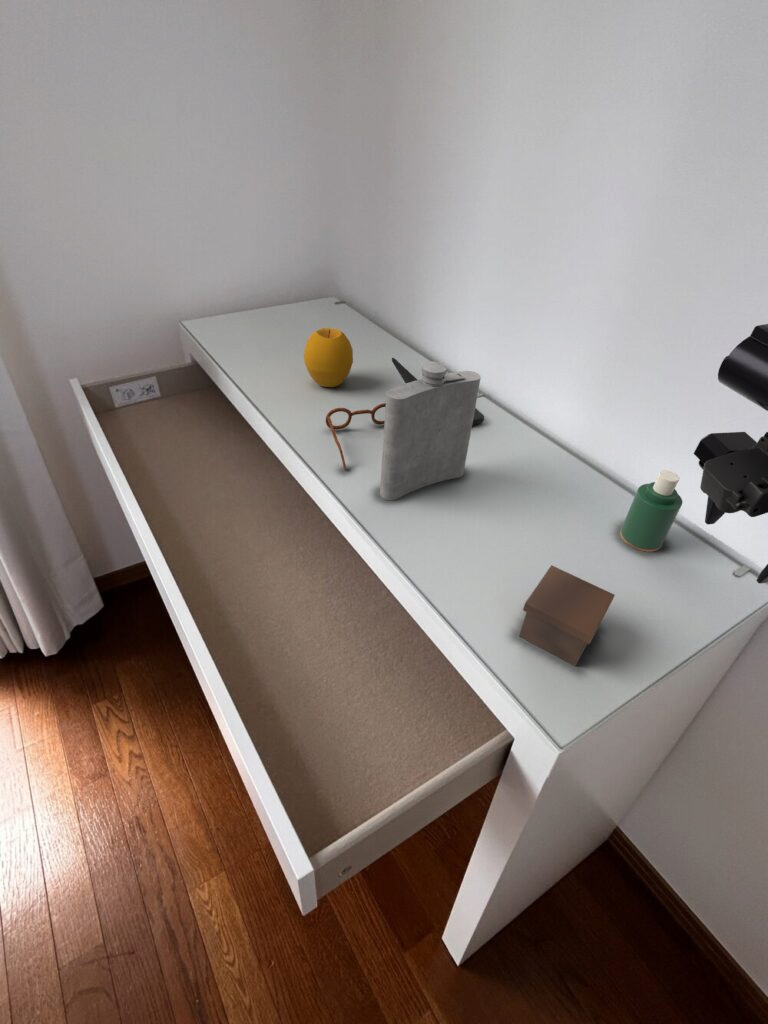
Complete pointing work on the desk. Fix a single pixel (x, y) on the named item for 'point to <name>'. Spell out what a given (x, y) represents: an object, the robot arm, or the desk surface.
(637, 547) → the coaster
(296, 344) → the desk surface
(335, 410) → the glasses
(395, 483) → the hip flask
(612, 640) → the desk surface
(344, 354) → the apple
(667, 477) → the bottle
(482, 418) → the game console
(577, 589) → the brown lidded box
